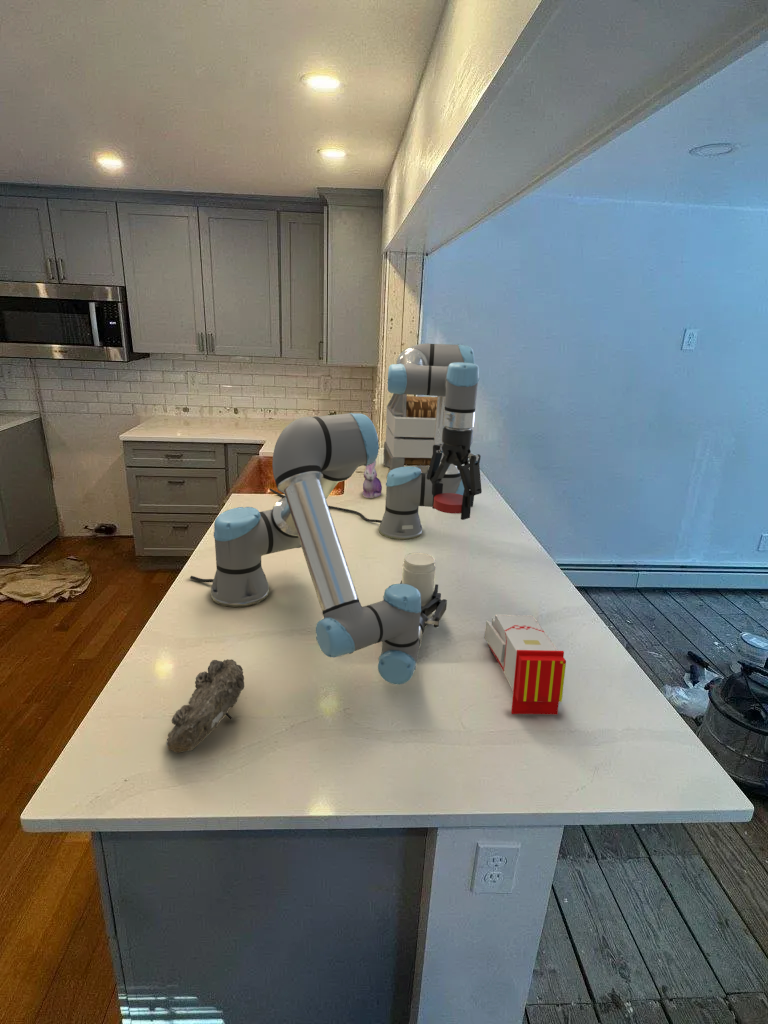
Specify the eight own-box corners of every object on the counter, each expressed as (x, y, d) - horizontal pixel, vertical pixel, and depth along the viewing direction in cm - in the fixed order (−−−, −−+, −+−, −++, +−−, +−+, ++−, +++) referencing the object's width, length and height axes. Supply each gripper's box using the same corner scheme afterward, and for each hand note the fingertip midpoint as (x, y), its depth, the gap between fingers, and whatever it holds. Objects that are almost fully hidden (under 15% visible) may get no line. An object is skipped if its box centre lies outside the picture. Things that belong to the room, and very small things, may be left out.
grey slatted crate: (382, 463, 289) (386, 382, 275) (445, 464, 293) (451, 384, 279) (390, 482, 257) (394, 392, 243) (460, 483, 261) (468, 394, 247)
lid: (459, 500, 152) (460, 492, 152) (474, 512, 144) (475, 503, 144) (427, 502, 150) (428, 494, 149) (442, 515, 142) (442, 506, 141)
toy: (530, 600, 137) (574, 657, 108) (525, 651, 140) (567, 720, 111) (480, 599, 137) (511, 656, 107) (477, 651, 139) (506, 719, 110)
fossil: (192, 660, 117) (244, 628, 112) (224, 691, 120) (276, 661, 115) (142, 746, 98) (202, 712, 93) (182, 779, 101) (242, 748, 96)
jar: (401, 625, 142) (405, 565, 136) (397, 609, 150) (401, 551, 144) (433, 625, 143) (438, 565, 137) (428, 609, 151) (433, 552, 145)
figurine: (366, 499, 233) (368, 464, 228) (356, 492, 241) (357, 458, 236) (387, 497, 237) (388, 462, 232) (376, 490, 246) (377, 456, 241)
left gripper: (360, 640, 131) (379, 594, 152) (451, 653, 127) (458, 604, 148) (361, 611, 128) (380, 569, 149) (454, 623, 125) (461, 578, 146)
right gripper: (415, 421, 145) (410, 504, 153) (483, 438, 130) (474, 529, 138) (435, 418, 149) (429, 498, 157) (503, 434, 135) (493, 522, 143)
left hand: (419, 586), depth 149 cm, fingers closed on jar, 8 cm apart
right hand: (450, 512), depth 148 cm, fingers closed on lid, 9 cm apart
